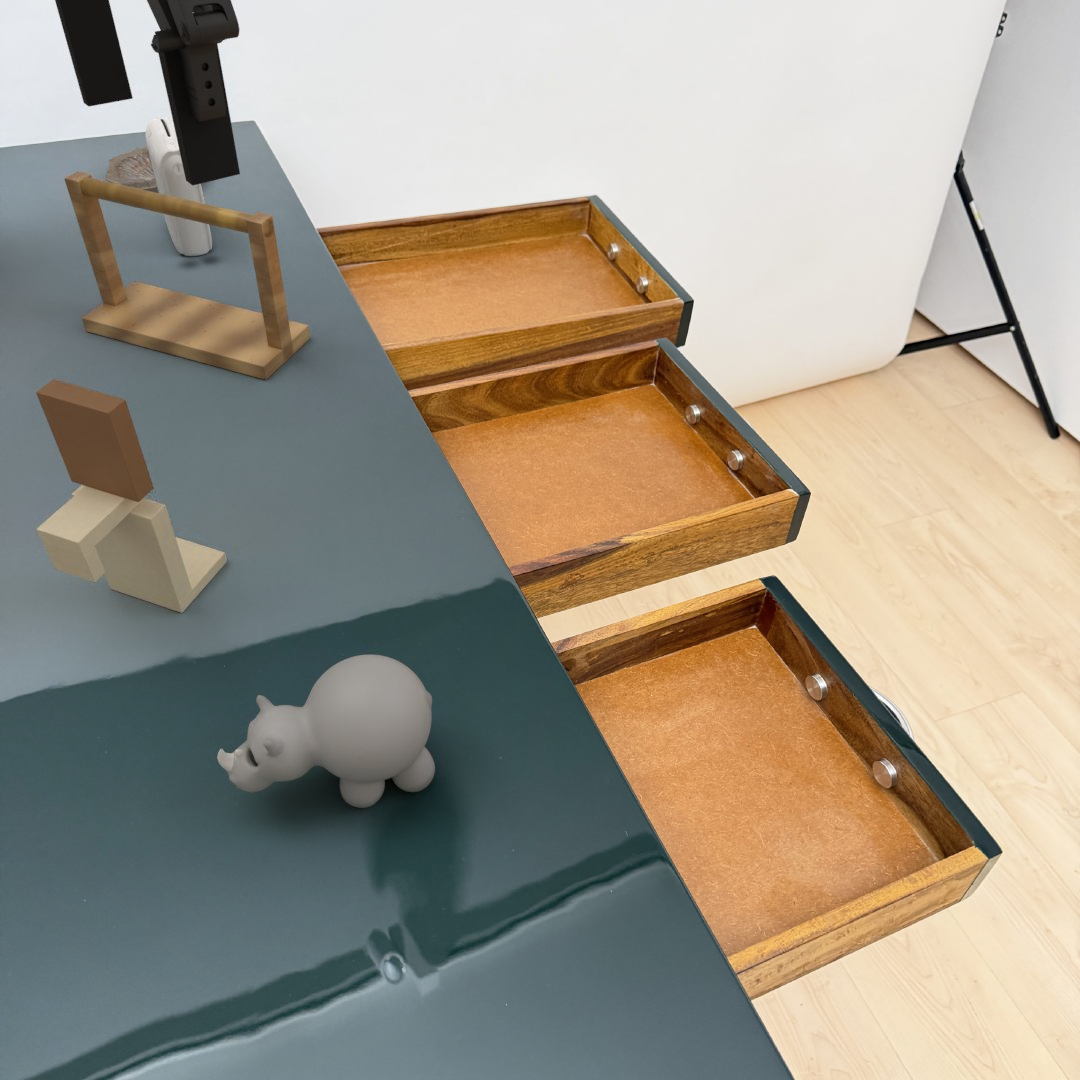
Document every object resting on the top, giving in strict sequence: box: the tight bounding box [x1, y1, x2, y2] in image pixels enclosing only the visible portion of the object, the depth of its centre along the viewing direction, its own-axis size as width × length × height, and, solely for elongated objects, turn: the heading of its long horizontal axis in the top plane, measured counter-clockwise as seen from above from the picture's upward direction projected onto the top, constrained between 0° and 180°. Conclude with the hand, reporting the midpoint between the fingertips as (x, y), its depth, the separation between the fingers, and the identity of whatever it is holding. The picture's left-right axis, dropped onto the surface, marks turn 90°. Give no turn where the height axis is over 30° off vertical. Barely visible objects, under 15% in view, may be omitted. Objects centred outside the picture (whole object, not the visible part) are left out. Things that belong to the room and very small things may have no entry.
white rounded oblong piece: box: [144, 116, 213, 257], centre depth 98 cm, size 10×4×12 cm, turn 25°
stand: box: [64, 170, 311, 381], centre depth 83 cm, size 20×8×14 cm, turn 70°
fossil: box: [105, 145, 159, 193], centre depth 110 cm, size 10×12×3 cm
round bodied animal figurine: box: [216, 653, 436, 809], centre depth 51 cm, size 7×12×8 cm, turn 110°
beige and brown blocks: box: [35, 378, 228, 614], centre depth 57 cm, size 6×10×17 cm, turn 160°
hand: (157, 137), depth 51 cm, fingers open, 13 cm apart
